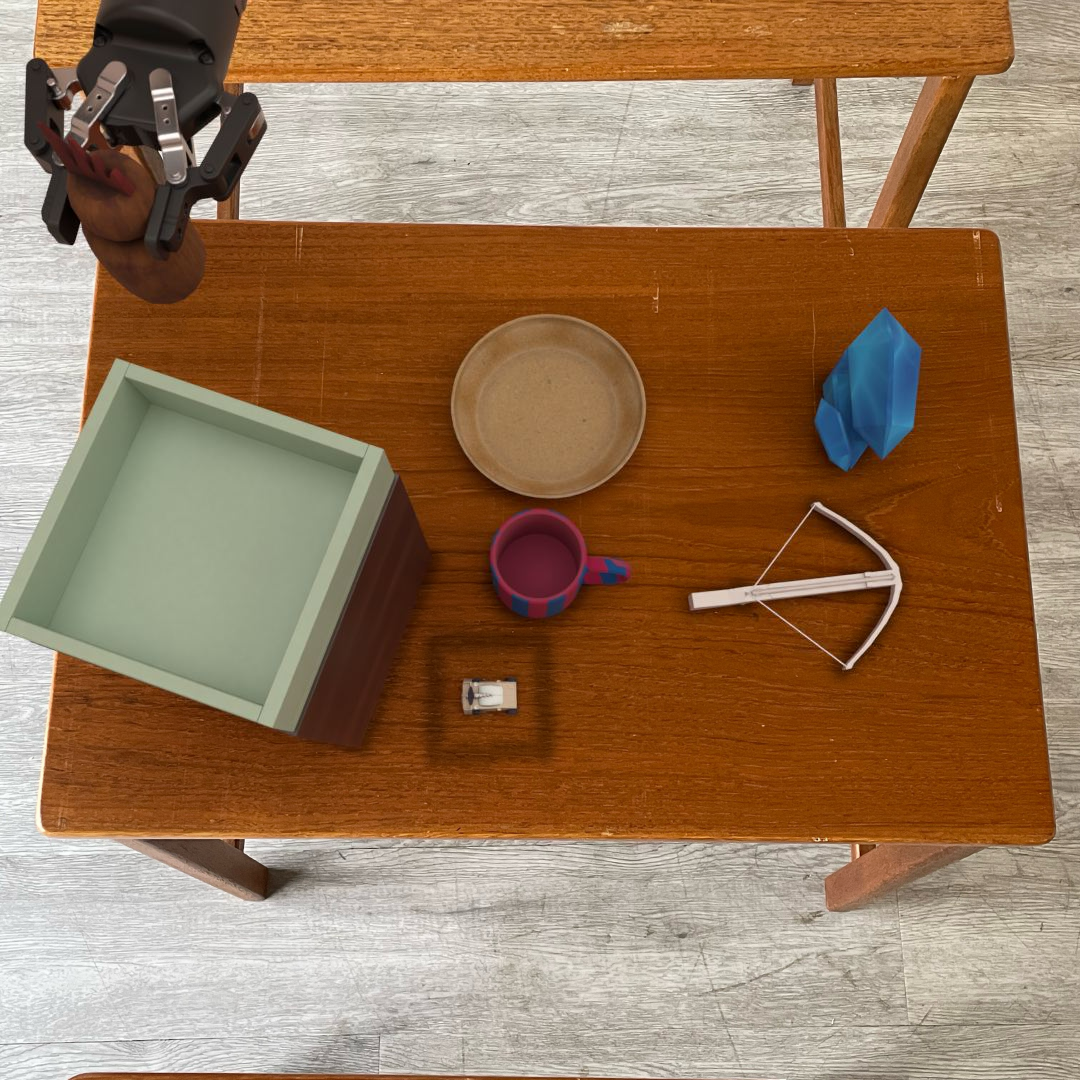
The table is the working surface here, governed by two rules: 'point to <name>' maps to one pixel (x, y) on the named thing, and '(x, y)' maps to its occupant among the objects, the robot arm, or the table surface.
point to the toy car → (489, 696)
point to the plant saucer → (548, 406)
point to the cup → (546, 563)
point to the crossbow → (815, 585)
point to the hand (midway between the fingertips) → (108, 244)
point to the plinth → (366, 628)
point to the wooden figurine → (125, 222)
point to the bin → (199, 545)
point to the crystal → (870, 393)
